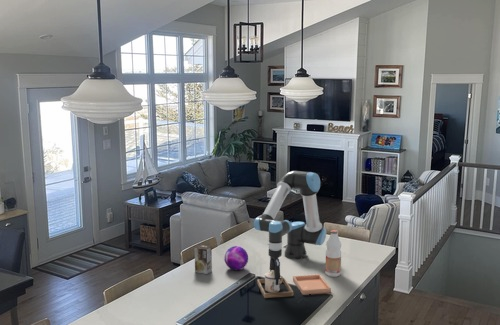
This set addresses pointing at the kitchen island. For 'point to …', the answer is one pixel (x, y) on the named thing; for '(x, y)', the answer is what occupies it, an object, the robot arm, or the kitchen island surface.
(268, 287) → the teacup with lid
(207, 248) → the coffee box
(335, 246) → the fruit juice
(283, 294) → the walnut corral
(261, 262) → the kitchen island surface
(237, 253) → the decorative orb
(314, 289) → the terracotta dish
